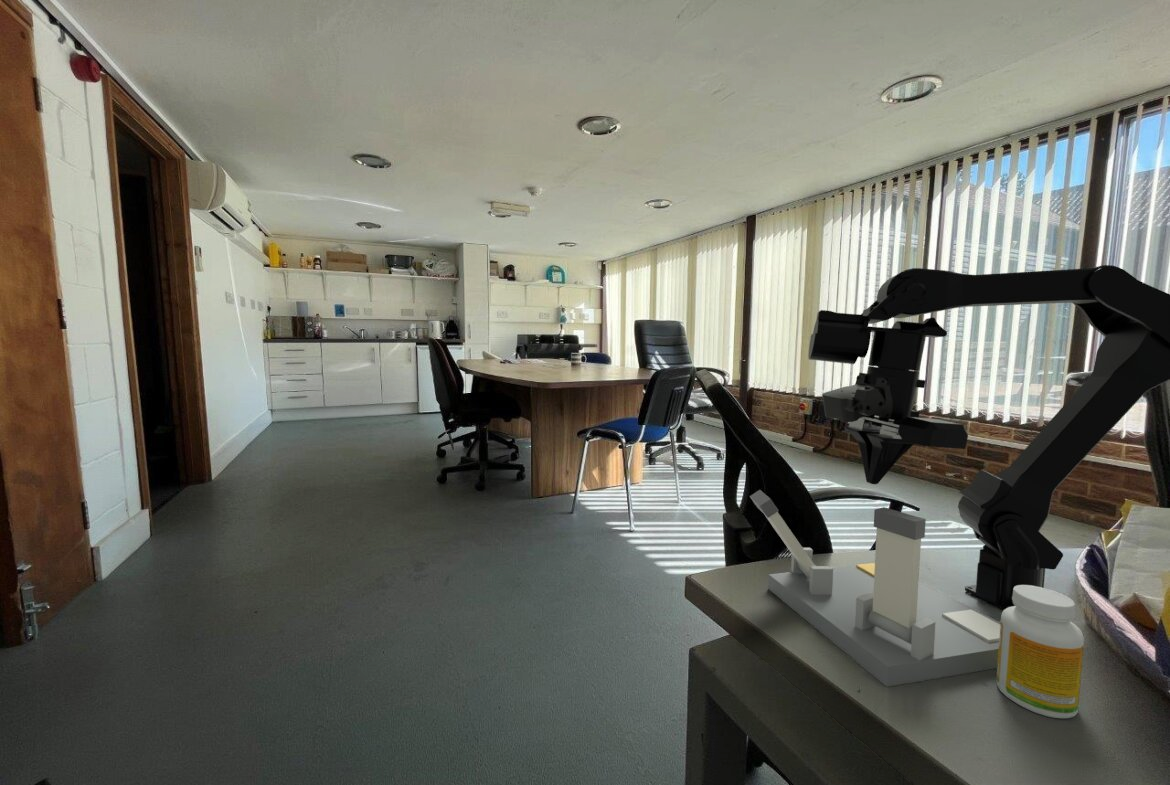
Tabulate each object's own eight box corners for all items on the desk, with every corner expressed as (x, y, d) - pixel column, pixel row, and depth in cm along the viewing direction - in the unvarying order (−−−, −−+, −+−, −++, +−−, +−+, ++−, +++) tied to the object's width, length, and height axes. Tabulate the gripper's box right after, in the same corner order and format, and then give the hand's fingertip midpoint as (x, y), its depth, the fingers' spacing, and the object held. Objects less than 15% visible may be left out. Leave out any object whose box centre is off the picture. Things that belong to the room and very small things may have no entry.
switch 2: (878, 621, 51) (884, 507, 50) (918, 641, 47) (926, 519, 46) (868, 625, 50) (873, 509, 49) (908, 646, 46) (915, 521, 45)
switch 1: (813, 565, 63) (760, 489, 62) (828, 579, 59) (771, 498, 58) (802, 572, 63) (748, 496, 62) (815, 587, 59) (758, 506, 58)
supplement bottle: (1096, 725, 40) (1106, 614, 39) (1021, 715, 41) (1030, 607, 40) (1047, 682, 45) (1055, 583, 44) (982, 674, 46) (989, 578, 45)
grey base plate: (881, 574, 67) (882, 538, 67) (1036, 661, 48) (1040, 611, 48) (766, 587, 63) (767, 549, 63) (886, 686, 44) (889, 633, 44)
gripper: (794, 358, 70) (777, 461, 72) (902, 369, 52) (876, 507, 53) (858, 365, 72) (841, 464, 74) (983, 378, 54) (956, 510, 56)
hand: (871, 483), depth 64 cm, fingers closed
